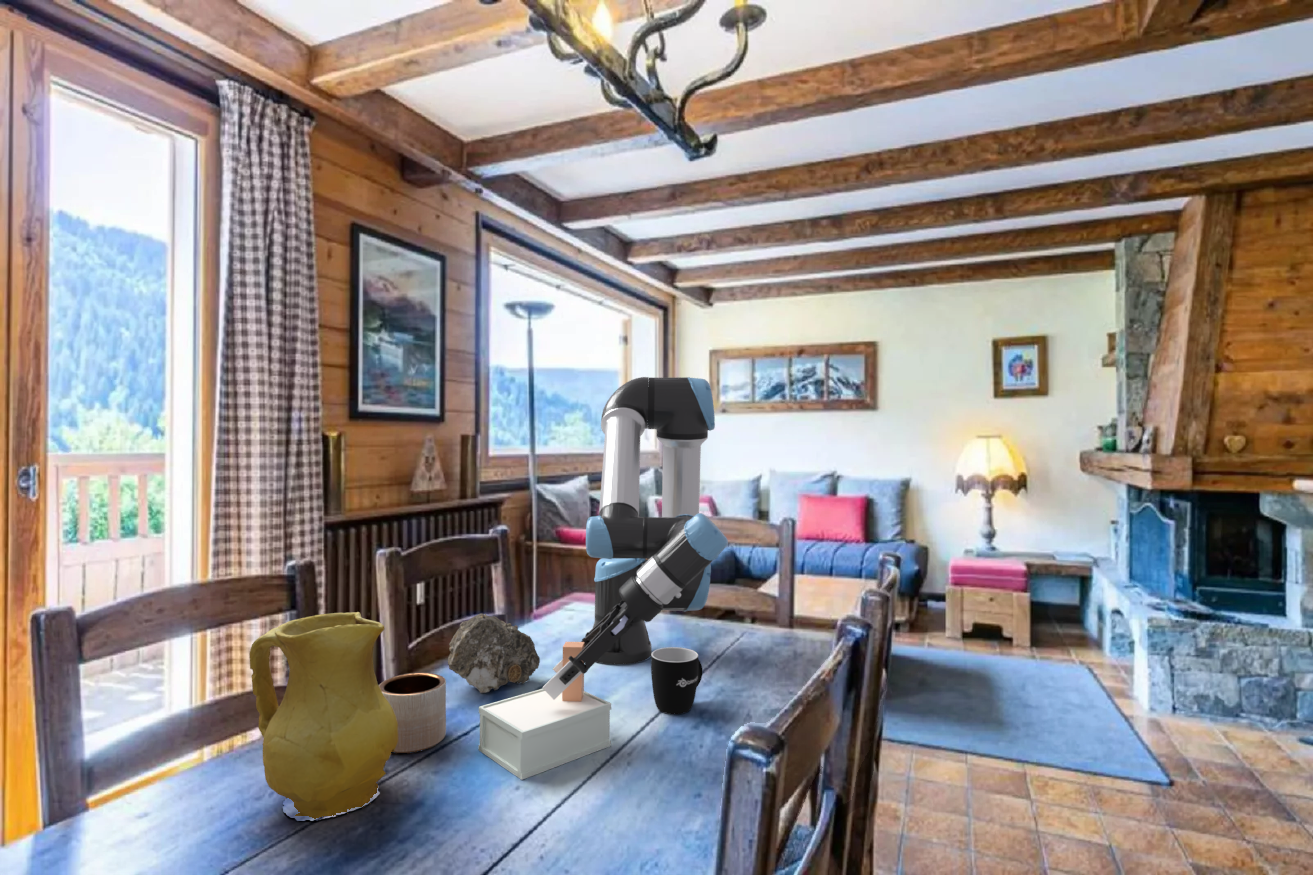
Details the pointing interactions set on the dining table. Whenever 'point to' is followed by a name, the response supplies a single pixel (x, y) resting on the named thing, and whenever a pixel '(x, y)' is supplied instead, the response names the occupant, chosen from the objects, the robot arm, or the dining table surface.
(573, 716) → the tub
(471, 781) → the dining table surface
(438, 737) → the planter
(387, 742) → the pitcher
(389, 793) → the dining table surface
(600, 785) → the dining table surface
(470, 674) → the rock
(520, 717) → the lid
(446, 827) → the dining table surface
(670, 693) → the mug
